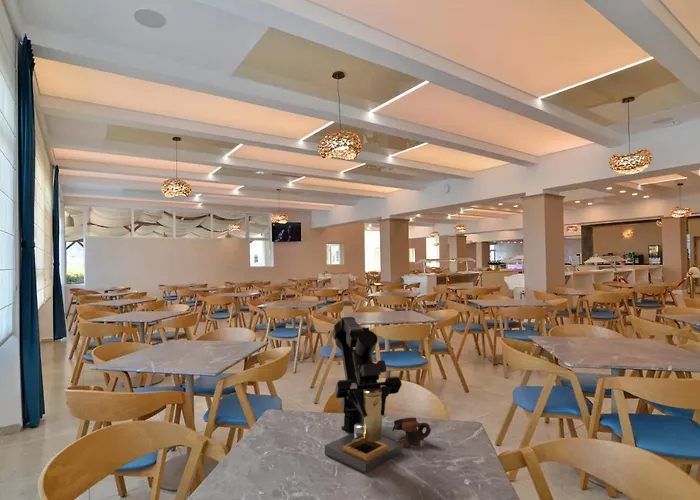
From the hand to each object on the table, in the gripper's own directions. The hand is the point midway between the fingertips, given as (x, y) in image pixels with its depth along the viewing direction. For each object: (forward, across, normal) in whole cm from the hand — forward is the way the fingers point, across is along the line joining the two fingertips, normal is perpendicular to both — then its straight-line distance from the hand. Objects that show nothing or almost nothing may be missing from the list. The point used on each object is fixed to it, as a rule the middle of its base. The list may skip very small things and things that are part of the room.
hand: (373, 416), depth 112 cm
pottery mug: (+2, +16, +18) cm, 24 cm away
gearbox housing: (+5, -1, +15) cm, 15 cm away
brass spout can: (+5, 0, +5) cm, 7 cm away
